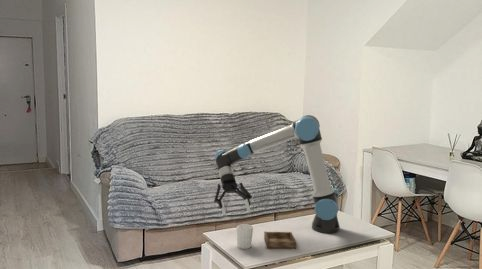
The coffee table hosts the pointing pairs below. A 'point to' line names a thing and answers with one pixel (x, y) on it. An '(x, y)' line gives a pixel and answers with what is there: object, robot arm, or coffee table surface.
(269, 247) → the tray
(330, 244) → the coffee table surface
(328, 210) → the robot arm
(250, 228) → the white cup
